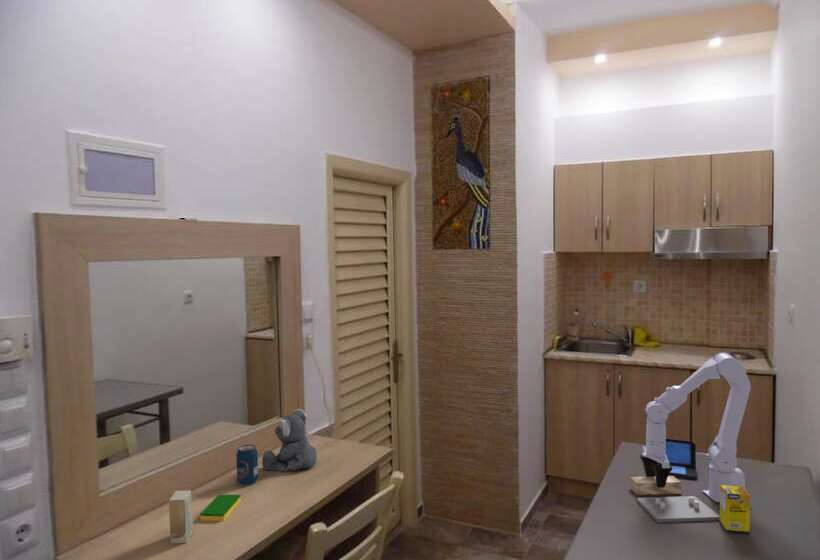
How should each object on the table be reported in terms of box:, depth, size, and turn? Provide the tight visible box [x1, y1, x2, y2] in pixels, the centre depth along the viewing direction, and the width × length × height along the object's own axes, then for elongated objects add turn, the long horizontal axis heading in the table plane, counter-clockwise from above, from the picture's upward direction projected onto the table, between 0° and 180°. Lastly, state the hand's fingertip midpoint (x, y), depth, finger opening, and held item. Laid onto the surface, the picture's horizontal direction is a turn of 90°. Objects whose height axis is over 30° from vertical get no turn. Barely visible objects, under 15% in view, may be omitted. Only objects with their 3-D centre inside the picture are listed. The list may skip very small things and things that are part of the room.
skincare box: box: [168, 489, 194, 545], centre depth 161 cm, size 6×4×12 cm
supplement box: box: [719, 485, 751, 535], centre depth 162 cm, size 6×6×11 cm
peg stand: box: [636, 495, 720, 523], centre depth 174 cm, size 18×14×3 cm
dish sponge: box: [200, 493, 242, 522], centre depth 179 cm, size 7×14×2 cm, turn 176°
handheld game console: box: [654, 438, 698, 481], centre depth 204 cm, size 16×13×9 cm
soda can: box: [235, 444, 259, 487], centre depth 199 cm, size 7×7×12 cm
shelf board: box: [629, 475, 682, 496], centre depth 188 cm, size 14×5×4 cm, turn 93°
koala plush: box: [261, 408, 318, 473], centre depth 215 cm, size 17×18×20 cm
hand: (655, 482), depth 188 cm, fingers open, 7 cm apart
